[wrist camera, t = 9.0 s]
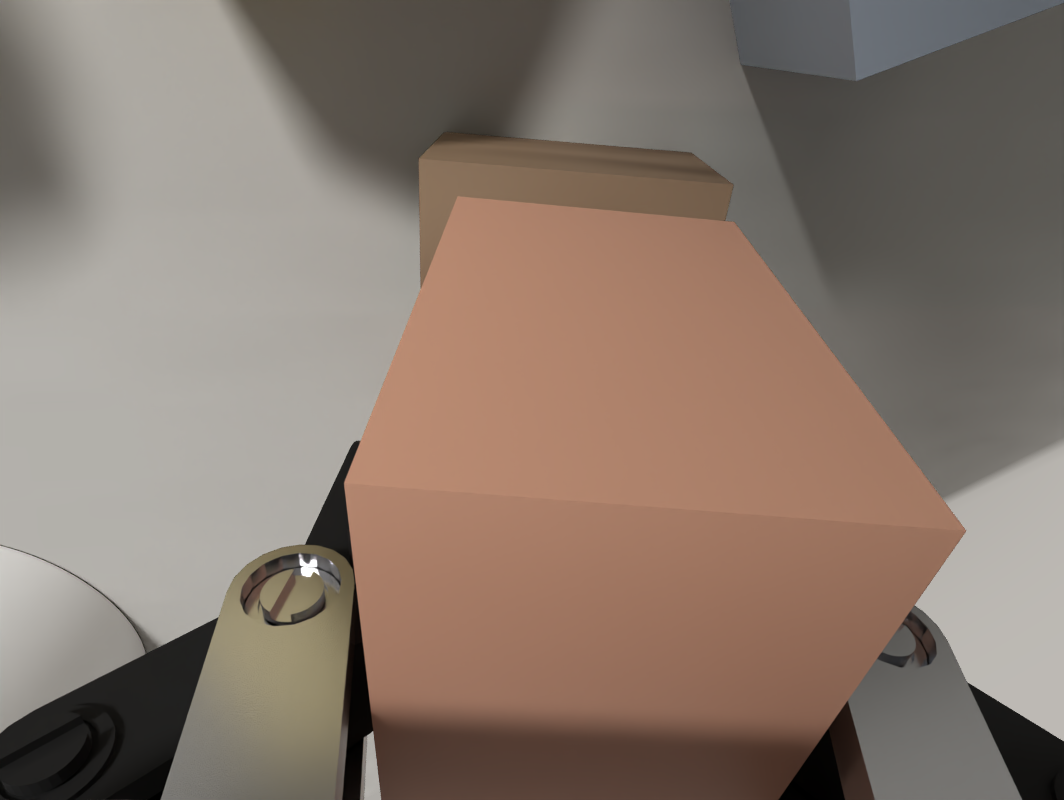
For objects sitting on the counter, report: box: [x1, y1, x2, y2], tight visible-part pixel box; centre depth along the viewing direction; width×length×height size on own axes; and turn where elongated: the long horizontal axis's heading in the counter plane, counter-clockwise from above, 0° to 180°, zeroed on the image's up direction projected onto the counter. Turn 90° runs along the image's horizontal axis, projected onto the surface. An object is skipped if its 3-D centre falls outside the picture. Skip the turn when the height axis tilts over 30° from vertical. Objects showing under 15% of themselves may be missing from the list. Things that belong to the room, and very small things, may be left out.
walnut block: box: [419, 132, 733, 287], centre depth 15 cm, size 8×6×4 cm
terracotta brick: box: [344, 196, 966, 800], centre depth 8 cm, size 7×4×6 cm, turn 175°
